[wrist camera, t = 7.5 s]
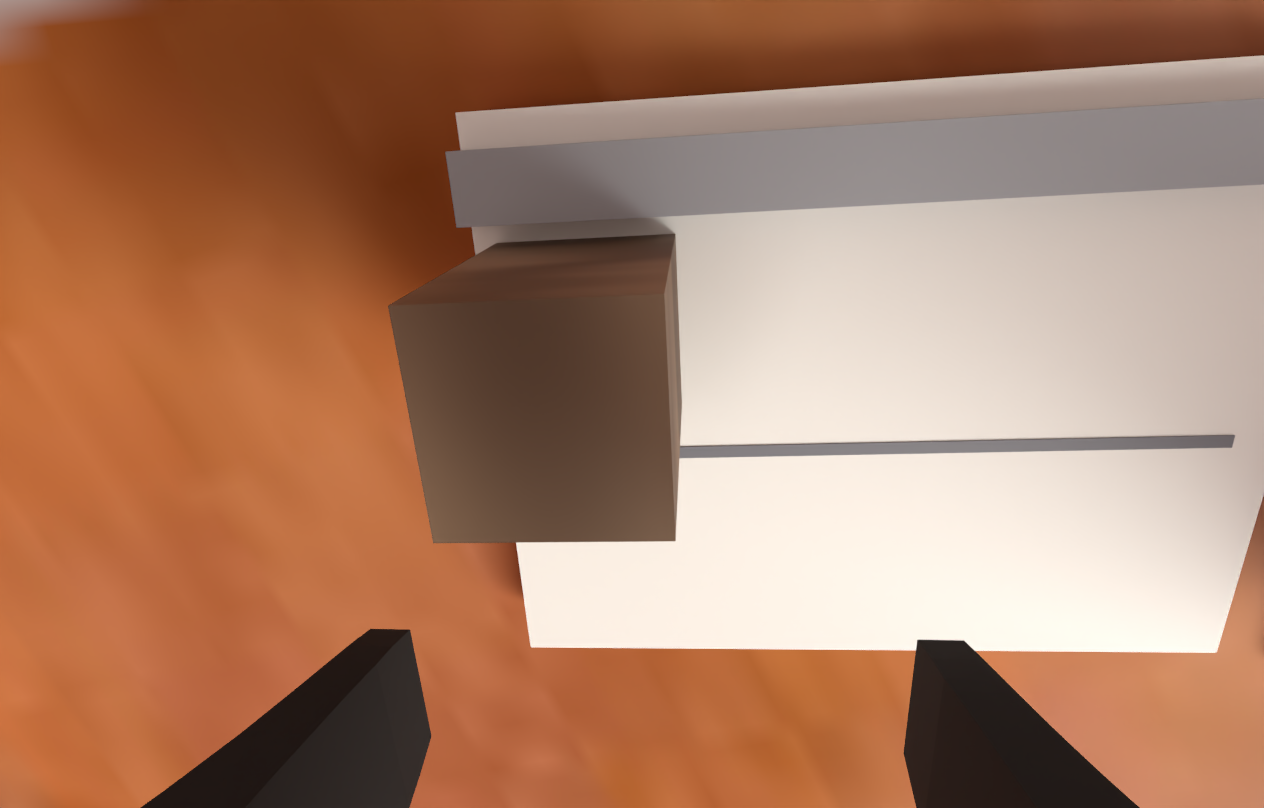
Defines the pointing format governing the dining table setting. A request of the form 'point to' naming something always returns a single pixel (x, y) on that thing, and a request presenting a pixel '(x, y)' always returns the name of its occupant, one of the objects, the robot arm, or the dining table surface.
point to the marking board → (923, 355)
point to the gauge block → (547, 391)
